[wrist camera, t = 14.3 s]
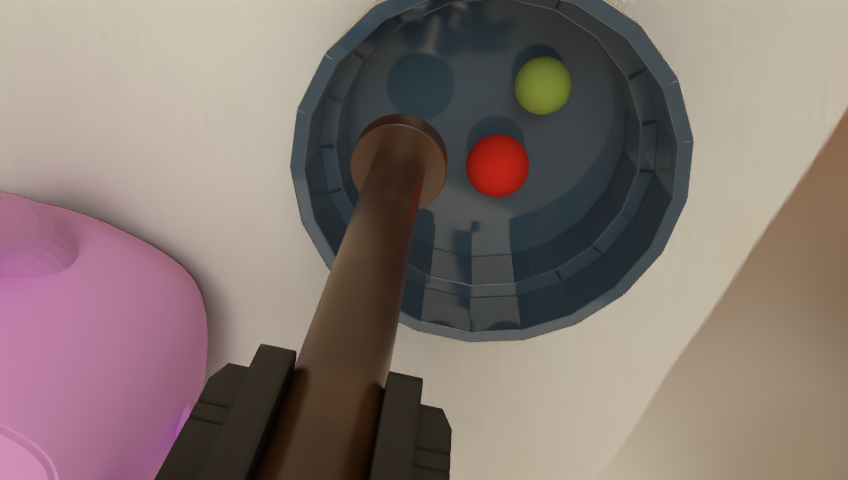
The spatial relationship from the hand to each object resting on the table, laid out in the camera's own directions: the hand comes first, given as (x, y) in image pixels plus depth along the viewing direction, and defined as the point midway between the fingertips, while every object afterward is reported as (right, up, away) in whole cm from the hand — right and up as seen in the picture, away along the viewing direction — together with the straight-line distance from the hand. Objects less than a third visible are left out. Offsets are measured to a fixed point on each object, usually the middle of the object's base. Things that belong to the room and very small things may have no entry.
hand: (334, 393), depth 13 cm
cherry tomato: (+5, +6, +15) cm, 17 cm away
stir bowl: (+5, +8, +17) cm, 19 cm away
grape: (+7, +10, +14) cm, 18 cm away
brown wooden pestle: (+1, +6, +11) cm, 13 cm away
